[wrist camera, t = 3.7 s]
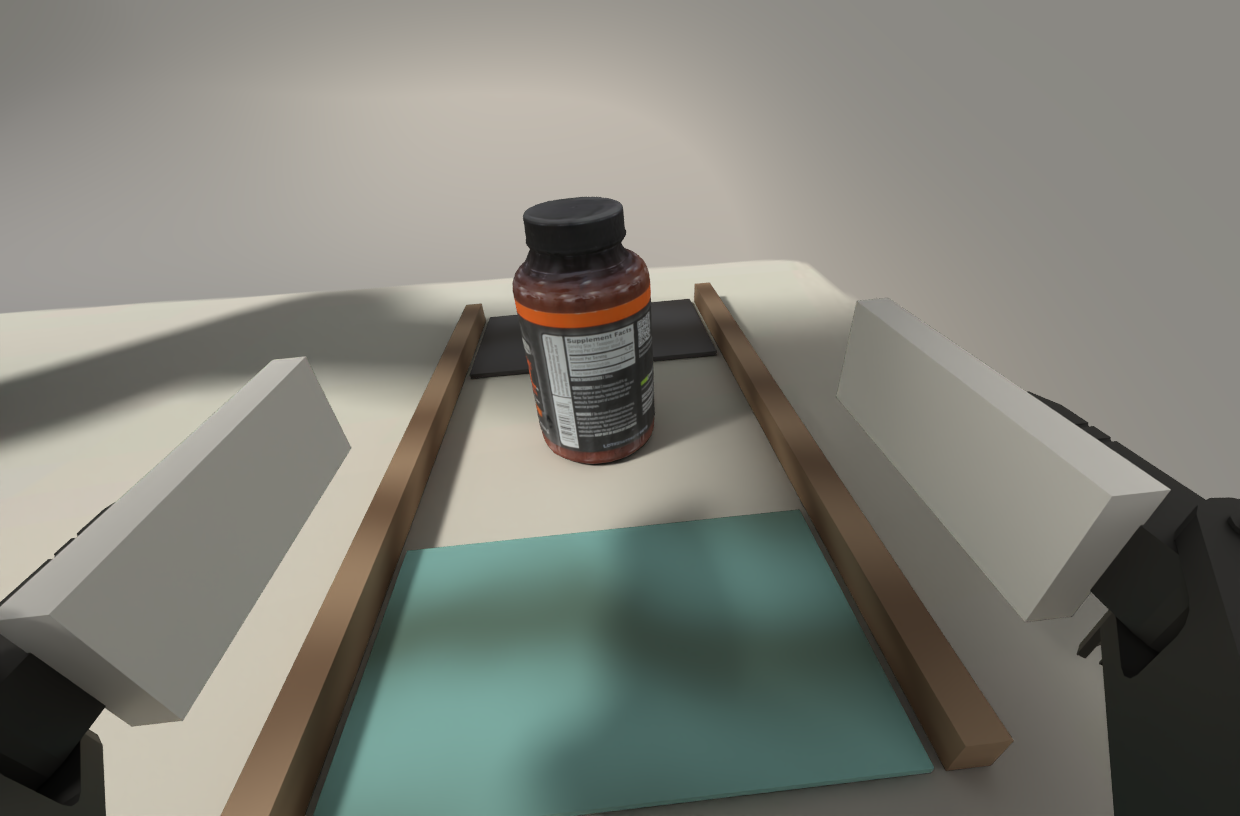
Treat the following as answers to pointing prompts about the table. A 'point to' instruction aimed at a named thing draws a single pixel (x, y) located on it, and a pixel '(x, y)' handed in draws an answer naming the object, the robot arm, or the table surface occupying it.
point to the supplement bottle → (586, 330)
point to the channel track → (612, 642)
